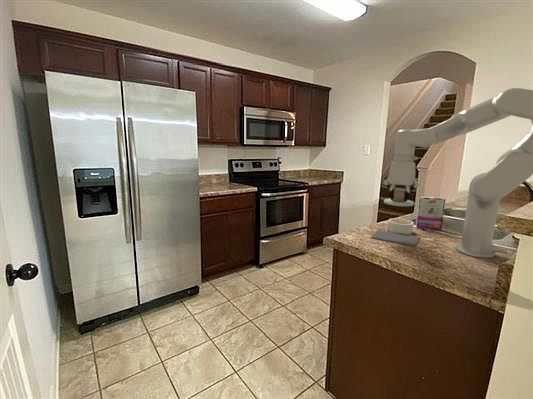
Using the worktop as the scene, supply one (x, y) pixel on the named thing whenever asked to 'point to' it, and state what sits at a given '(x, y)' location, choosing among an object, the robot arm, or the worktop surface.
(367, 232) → the worktop surface
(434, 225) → the candy bar box
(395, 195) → the lid
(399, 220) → the bowl
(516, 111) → the robot arm
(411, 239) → the mat
